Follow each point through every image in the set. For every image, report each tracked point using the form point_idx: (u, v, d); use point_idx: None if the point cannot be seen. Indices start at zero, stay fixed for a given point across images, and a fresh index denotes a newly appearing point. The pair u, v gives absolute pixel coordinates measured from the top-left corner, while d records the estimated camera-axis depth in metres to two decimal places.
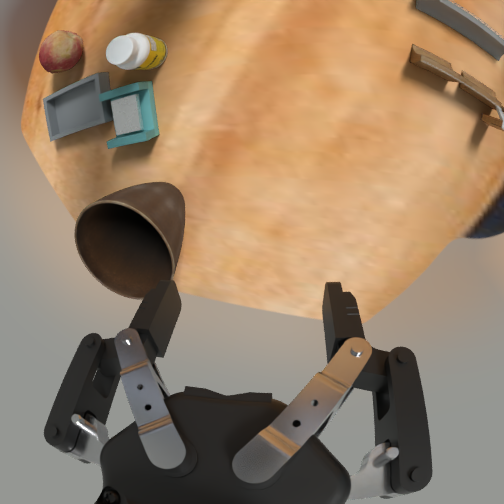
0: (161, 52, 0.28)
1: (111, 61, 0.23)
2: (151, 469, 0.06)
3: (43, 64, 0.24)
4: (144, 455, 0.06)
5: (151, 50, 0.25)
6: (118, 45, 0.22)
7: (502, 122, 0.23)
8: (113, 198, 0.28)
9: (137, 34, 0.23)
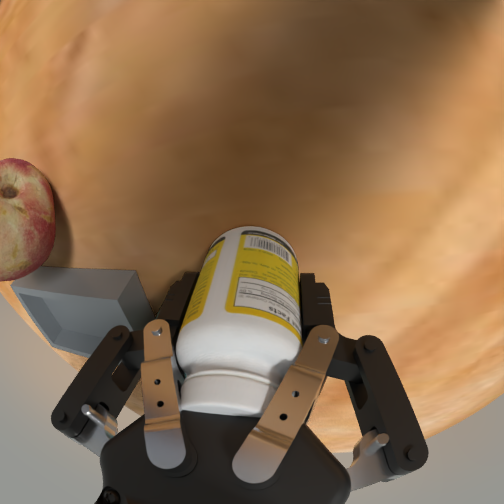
0: None
1: None
2: (151, 469, 0.06)
3: None
4: (144, 455, 0.06)
5: None
6: None
7: None
8: None
9: (272, 344, 0.09)
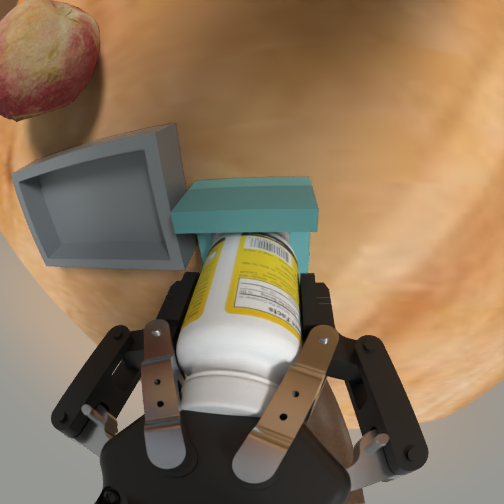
0: None
1: None
2: (151, 469, 0.06)
3: None
4: (144, 455, 0.06)
5: None
6: None
7: None
8: None
9: (272, 345, 0.09)
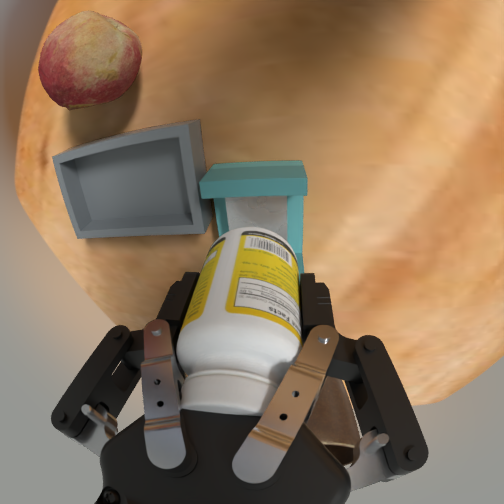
0: None
1: None
2: (151, 469, 0.06)
3: (49, 90, 0.11)
4: (144, 455, 0.06)
5: None
6: None
7: None
8: None
9: (272, 344, 0.09)
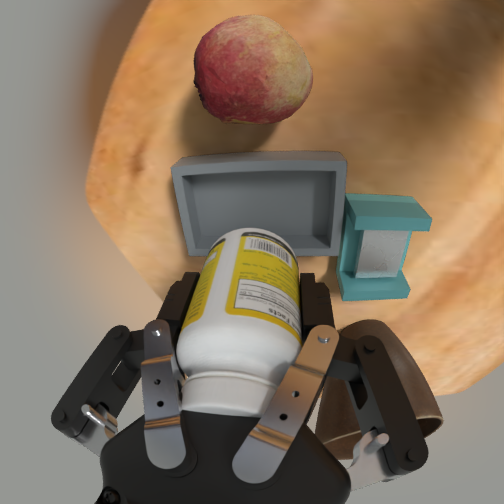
0: None
1: None
2: (151, 469, 0.06)
3: (220, 98, 0.13)
4: (144, 455, 0.06)
5: None
6: None
7: None
8: (413, 410, 0.18)
9: (272, 346, 0.09)
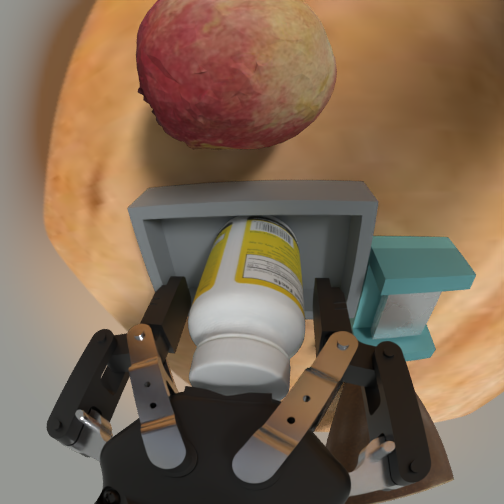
0: None
1: None
2: (151, 469, 0.06)
3: (174, 110, 0.07)
4: (144, 455, 0.06)
5: None
6: (236, 381, 0.09)
7: None
8: (424, 481, 0.12)
9: (277, 311, 0.10)
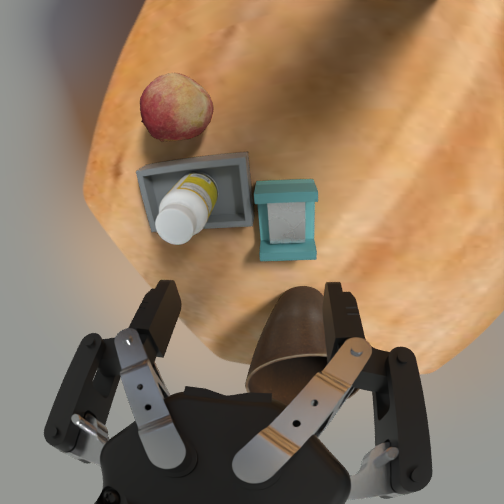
0: (215, 201, 0.32)
1: (166, 239, 0.26)
2: (151, 469, 0.06)
3: (153, 128, 0.23)
4: (144, 455, 0.06)
5: (209, 213, 0.29)
6: (172, 221, 0.25)
7: None
8: (319, 348, 0.27)
9: (190, 197, 0.26)
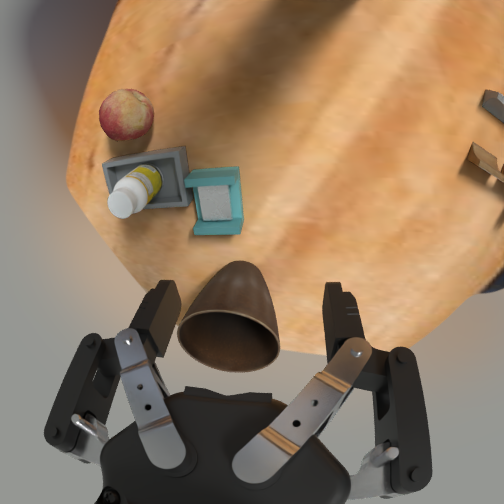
0: (158, 186, 0.38)
1: (115, 214, 0.33)
2: (151, 469, 0.06)
3: (107, 132, 0.30)
4: (144, 455, 0.06)
5: (149, 195, 0.35)
6: (118, 200, 0.32)
7: None
8: (229, 306, 0.34)
9: (133, 182, 0.33)
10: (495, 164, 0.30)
